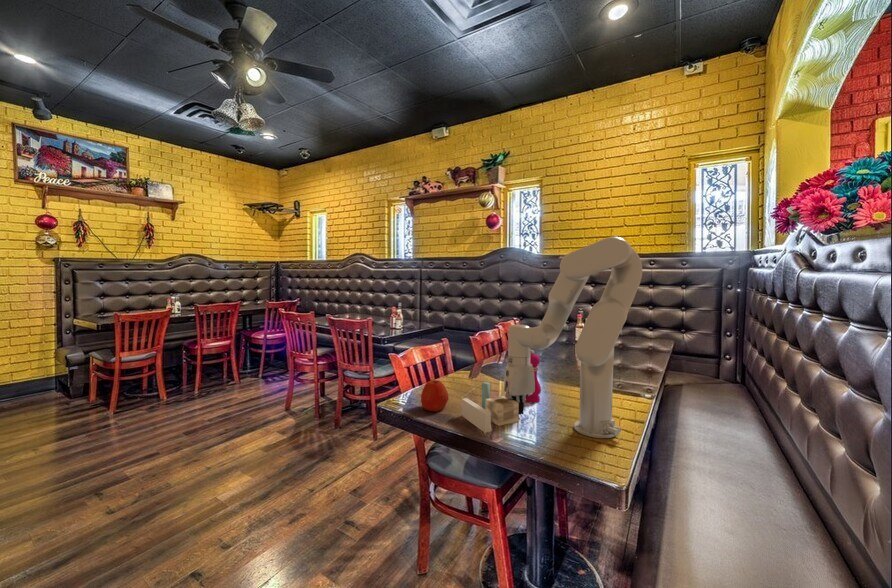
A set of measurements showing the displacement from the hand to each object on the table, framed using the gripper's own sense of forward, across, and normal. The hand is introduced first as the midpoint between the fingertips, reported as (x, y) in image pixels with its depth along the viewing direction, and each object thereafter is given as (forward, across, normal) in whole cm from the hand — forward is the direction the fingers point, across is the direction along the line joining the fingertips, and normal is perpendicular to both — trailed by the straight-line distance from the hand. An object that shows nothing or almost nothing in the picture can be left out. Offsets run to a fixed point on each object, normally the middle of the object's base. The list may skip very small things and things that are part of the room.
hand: (518, 413), depth 129 cm
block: (+1, -7, 0) cm, 7 cm away
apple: (+2, -24, +20) cm, 31 cm away
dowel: (+1, -8, +10) cm, 12 cm away
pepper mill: (+1, +14, +12) cm, 19 cm away
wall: (+1, -17, +1) cm, 17 cm away
